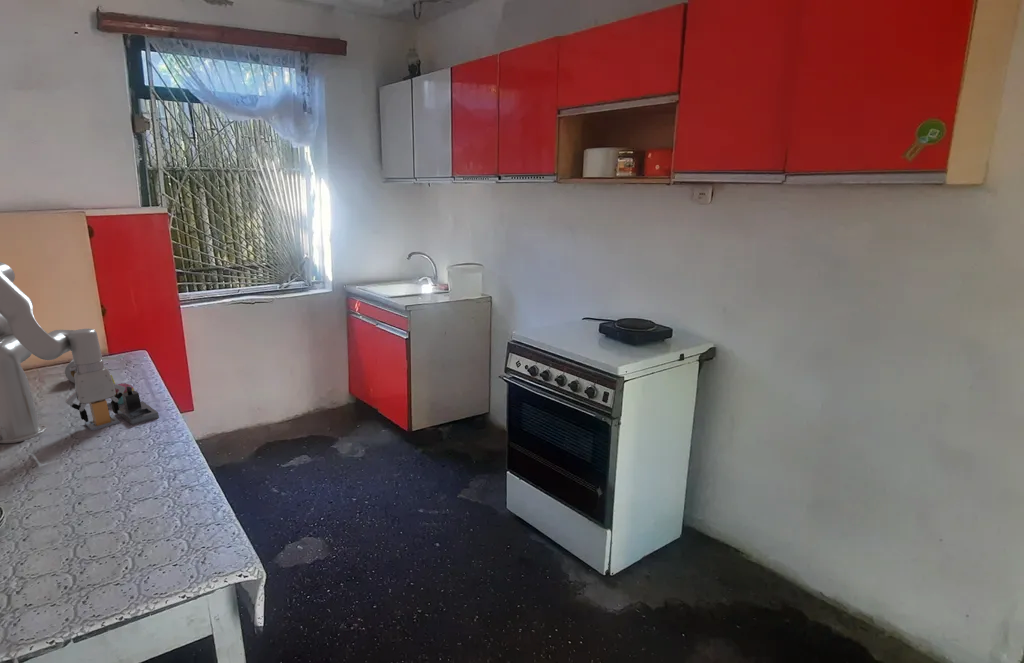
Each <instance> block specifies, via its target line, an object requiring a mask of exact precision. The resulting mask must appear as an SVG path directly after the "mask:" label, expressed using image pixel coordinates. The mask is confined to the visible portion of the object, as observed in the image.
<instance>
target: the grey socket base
mask: <svg viewBox="0 0 1024 663" xmlns="http://www.w3.org/2000/svg"><path fill="white" fill-rule="evenodd" d="M126 388H127V393H123V394H122V397H123V402H124V403H123V406H120V407H119V410H118V414H117V415H119V416H120V417H122V419H124V420H125V421H126V422H128V423H129V424H130V425H131V426H136V425H140V424H143V423H146V422H149V421H153V420H157V419H160V415H159V412H158V411H157V410H156V409H154V408H153V407H151V406H150V405H148V404H147V403H146V402H145V401H143V400H142V401H141V397H140V394H139V392H138V391H136V390H134V391H132V388H131V386H128V387H126Z"/></svg>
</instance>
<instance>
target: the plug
mask: <svg viewBox="0 0 1024 663" xmlns="http://www.w3.org/2000/svg"><path fill="white" fill-rule="evenodd" d="M88 404H89V408H90V413H91V416H92V417H91V418H92V420H93V422H94V424H95V425H96V426H99V425H102V424H106V423H109V422H111V419H110V415H111V414H110V411H109V407H108V406H109V405H108V401H107V399H104V400H100V401H96V402H92V403H88Z"/></svg>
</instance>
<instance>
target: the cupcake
mask: <svg viewBox="0 0 1024 663" xmlns="http://www.w3.org/2000/svg"><path fill="white" fill-rule="evenodd" d="M110 375H111V377H112V380H113V383H114V384H116V382H115V380H114V377H113V375H112V374H110ZM117 385H120V386H123V387H125V391H124V392H123V393H127V388H126V387H128V386H131V388H132V391H135V388H134V387H133V385H132V384H129V383H123V382H122V383H118V384H117ZM115 391H116V394H117V393H118V391H119V389H116V388H115ZM110 400H111V401H112V399H111V398H110ZM122 404H123V405H124V402H123V397H122V396H121V398H120V399H119V401H118V405H122Z"/></svg>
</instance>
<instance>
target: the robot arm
mask: <svg viewBox="0 0 1024 663" xmlns="http://www.w3.org/2000/svg"><path fill="white" fill-rule="evenodd" d="M15 278H16V274H15V272H14V270H13V268H12V267H11V266H10V265H8V264H6V263H4V262H2V261H0V444H14V443H20V442H24V441H25V440H26V441H27V440H29V439H33V438H35V437H38V436H40V435H42V434H44V433H45V432H46V431H47V430H48V427H47V425H45V424H41V423H40V421H39V418H38V413H37V410H36V405H35V403H34V401H35V400H34V398H33V394H32V391H31V386H30V382H29V379H28V377H27V374H26V372H25V371H24V369H23V367H22V365H21V364H22V363H23V362H26V360H28V359H29V358H30V357H31V356H32V355H33V356H34V357H37V358H38V359H41V360H43V361H54V360H56V359H58V358H60V357H61V356H63V355H64V354H66V353H69V352H71V355H72V360H74V366H73V367H70V371H75V372H76V373H75V374H74V390H75V392H73V393H72V394H71V395H70V396H69V397H68V398H66V400H65V403H66V405H68V406H70V407H71V408H73V409H75V410H77V411H78V412H79V415H80V419H81V420H83V421H84V423H85V422H88V421H89V418H88V417H89V416H88V413H87V412H88V411H87V410H86V409H85V408H86V406H87V404H89V403H92V402H96V401H100V400H104V399H105V400H109V399H110V400H111V399H112V400H111V401H110V404H111V409H112V412H113V413H114V414H115V415H119V414H118V410H119V406H120V405H119V404H118V401H119V399H120V398H121V396H122V394H123V392H124V391H125V387H123V386H120V385H117V384H116V383H115V384H114V383H113V380H112V377H113V376H112V377H111V375H112V374H111V373H110V370H109V368H108V367H106V366H105V364H104V360H103V359H104V358H103V355H102V350H101V346H100V342H99V341H100V340H99V337H98V333H97V331H96V329H93V328H81V329H75V330H74V329H55V330H52V331H50V332H47V331H45V330H44V328H43V327H42V326H41V325H40V324H39V323H38V321H37V320H36V318H35V316H34V303H33V300H32V299H31V298H30V297H29V296H28V295H26V293H25V292H23V291H22V289H21V288H19V287H18V286H17V285H16V284H15V283H14V282H15V280H16V279H15ZM115 388H116V389H119V391H118V393H117V394H116V391H115ZM76 399H77V401H78V402H79V403H78V404H76V403H74V401H75V400H76Z"/></svg>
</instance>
